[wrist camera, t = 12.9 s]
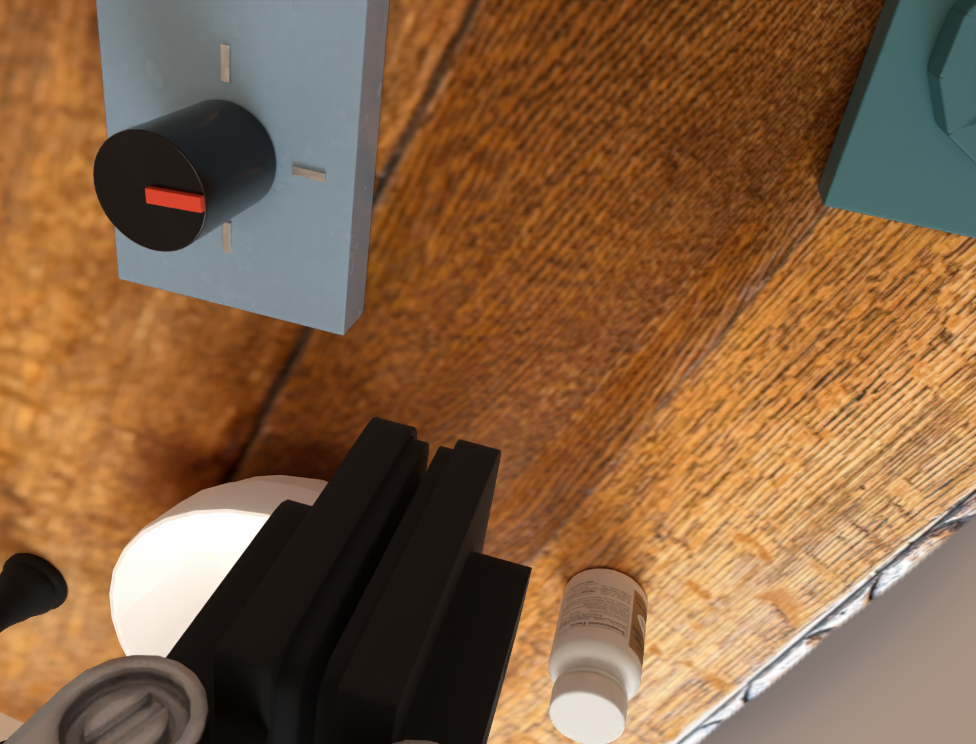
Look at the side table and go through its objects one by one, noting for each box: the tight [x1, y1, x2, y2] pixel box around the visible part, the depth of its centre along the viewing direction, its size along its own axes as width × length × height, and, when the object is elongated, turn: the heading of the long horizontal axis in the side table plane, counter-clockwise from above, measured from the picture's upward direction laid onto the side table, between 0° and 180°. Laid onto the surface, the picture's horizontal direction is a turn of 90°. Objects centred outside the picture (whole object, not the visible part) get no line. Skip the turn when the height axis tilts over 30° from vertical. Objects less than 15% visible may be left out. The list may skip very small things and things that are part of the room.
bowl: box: [109, 475, 328, 658], centre depth 44 cm, size 18×18×7 cm
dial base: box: [96, 0, 389, 335], centre depth 35 cm, size 14×11×3 cm
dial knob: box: [93, 99, 276, 252], centre depth 32 cm, size 4×4×6 cm
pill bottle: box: [549, 569, 648, 744], centre depth 41 cm, size 4×4×8 cm
